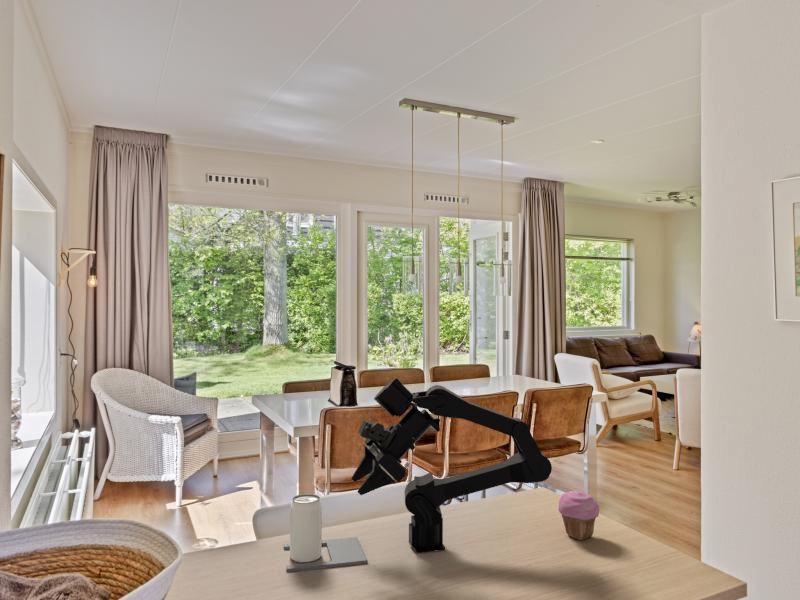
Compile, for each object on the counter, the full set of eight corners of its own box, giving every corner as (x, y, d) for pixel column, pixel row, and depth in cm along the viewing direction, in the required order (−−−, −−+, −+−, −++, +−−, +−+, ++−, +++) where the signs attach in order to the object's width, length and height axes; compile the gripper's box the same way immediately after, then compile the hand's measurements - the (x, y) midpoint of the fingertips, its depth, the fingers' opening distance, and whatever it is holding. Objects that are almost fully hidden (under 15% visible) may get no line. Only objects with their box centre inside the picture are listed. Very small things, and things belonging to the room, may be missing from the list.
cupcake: (583, 547, 121) (584, 501, 121) (550, 535, 128) (550, 490, 128) (606, 537, 126) (606, 492, 127) (573, 525, 133) (573, 483, 133)
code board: (357, 539, 124) (357, 536, 125) (367, 563, 113) (367, 560, 113) (283, 546, 120) (283, 543, 120) (286, 572, 109) (286, 568, 109)
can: (316, 564, 112) (316, 504, 112) (285, 562, 113) (285, 502, 113) (325, 551, 118) (325, 494, 119) (295, 549, 119) (296, 492, 120)
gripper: (373, 399, 129) (325, 450, 127) (389, 414, 111) (333, 473, 108) (406, 432, 131) (359, 483, 128) (428, 452, 113) (373, 511, 110)
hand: (355, 486), depth 119 cm, fingers open, 9 cm apart
